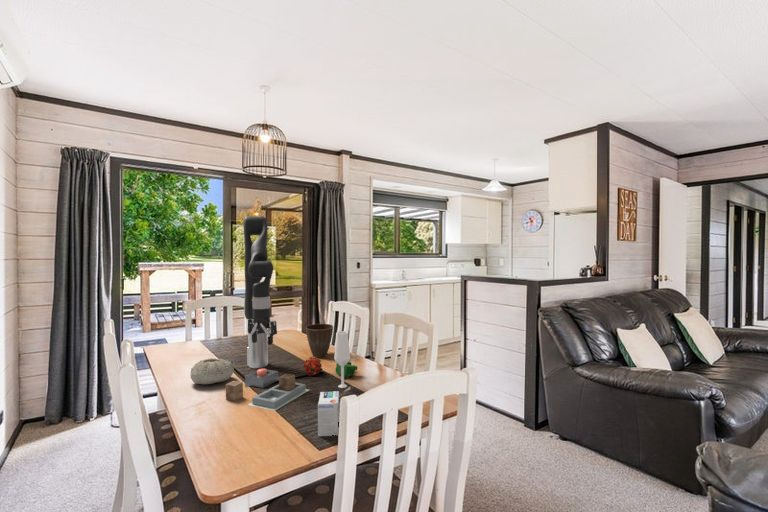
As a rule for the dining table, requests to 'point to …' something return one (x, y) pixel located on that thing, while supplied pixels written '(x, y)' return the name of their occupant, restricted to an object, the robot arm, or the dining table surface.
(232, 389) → the walnut billet
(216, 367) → the decorative shell
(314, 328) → the plant pot
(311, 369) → the dragon fruit
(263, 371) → the button
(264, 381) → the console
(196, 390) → the dining table surface
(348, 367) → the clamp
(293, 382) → the block
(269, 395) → the gray compartment tray
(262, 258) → the robot arm
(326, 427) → the light bulb box
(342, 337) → the champagne flute
